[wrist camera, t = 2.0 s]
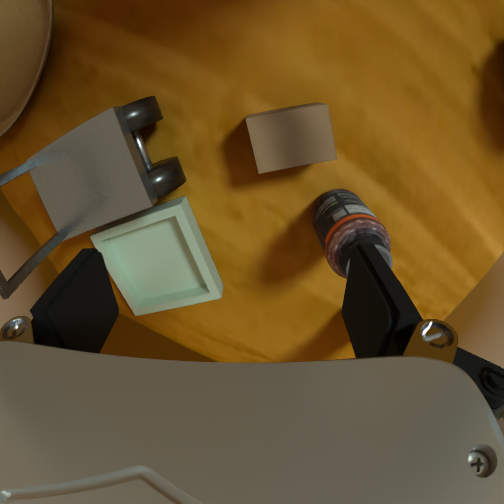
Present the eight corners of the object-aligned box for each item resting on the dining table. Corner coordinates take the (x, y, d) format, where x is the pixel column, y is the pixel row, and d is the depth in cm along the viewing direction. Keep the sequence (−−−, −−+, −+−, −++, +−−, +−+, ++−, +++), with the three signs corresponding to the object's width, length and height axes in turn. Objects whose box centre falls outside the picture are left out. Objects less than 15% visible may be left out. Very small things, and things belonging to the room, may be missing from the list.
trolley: (162, 94, 26) (59, 107, 11) (192, 174, 31) (129, 264, 15) (54, 150, 29) (-57, 210, 13) (82, 216, 33) (-6, 306, 18)
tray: (185, 195, 32) (180, 204, 30) (223, 285, 37) (221, 298, 35) (98, 227, 34) (89, 236, 31) (141, 304, 39) (135, 316, 37)
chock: (317, 102, 27) (327, 104, 23) (326, 150, 29) (336, 159, 25) (247, 115, 28) (245, 118, 24) (258, 162, 30) (258, 174, 26)
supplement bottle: (345, 245, 34) (374, 308, 25) (300, 224, 33) (318, 285, 23) (372, 202, 32) (416, 253, 22) (327, 177, 30) (360, 221, 21)
